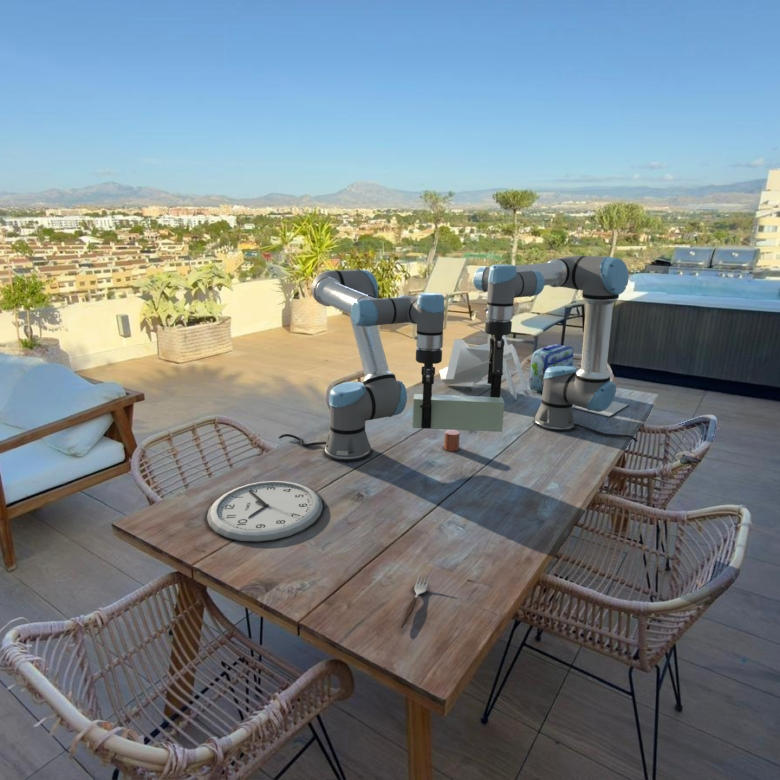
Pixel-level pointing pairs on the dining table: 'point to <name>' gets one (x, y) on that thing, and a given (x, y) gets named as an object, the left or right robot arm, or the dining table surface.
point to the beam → (461, 412)
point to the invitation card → (609, 411)
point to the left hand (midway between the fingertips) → (426, 424)
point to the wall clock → (264, 511)
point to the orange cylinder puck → (451, 440)
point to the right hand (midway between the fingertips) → (493, 390)
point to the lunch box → (548, 363)
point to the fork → (419, 589)
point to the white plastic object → (479, 365)
